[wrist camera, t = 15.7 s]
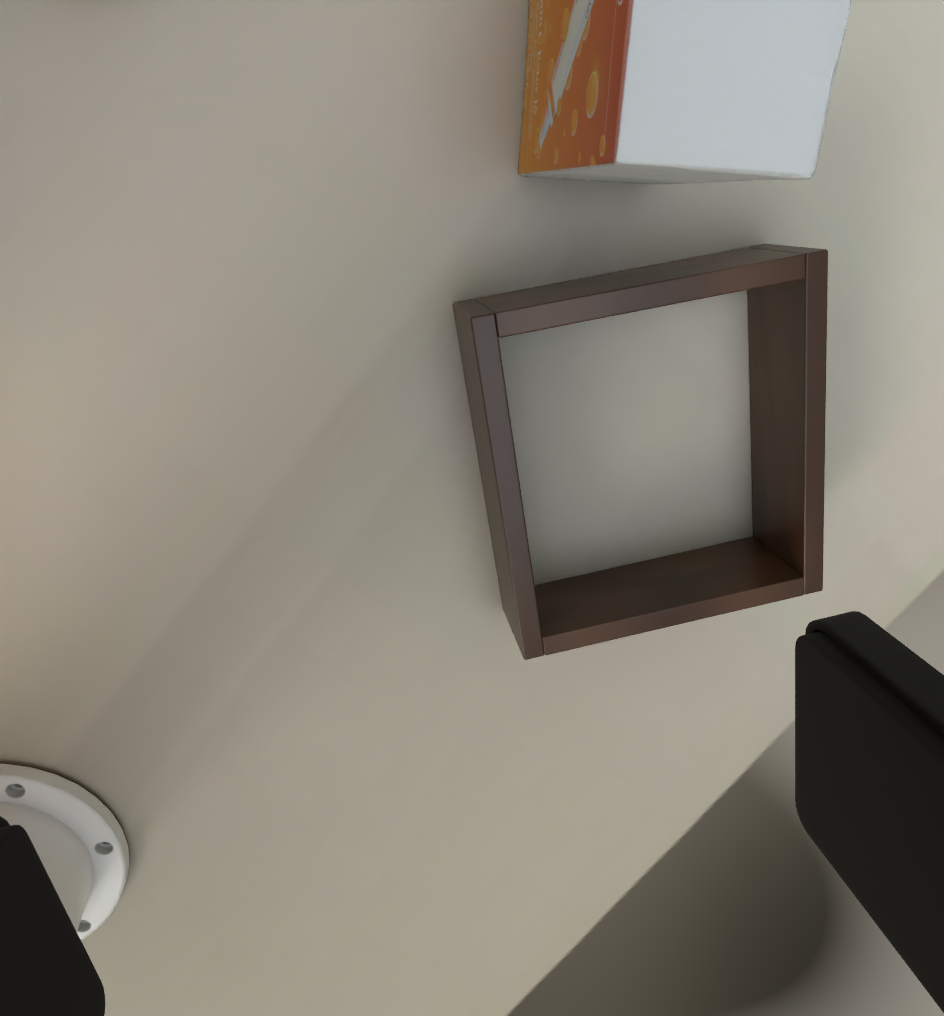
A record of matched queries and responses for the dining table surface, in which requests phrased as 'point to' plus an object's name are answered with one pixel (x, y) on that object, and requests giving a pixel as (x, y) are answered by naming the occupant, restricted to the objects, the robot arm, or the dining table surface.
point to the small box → (678, 89)
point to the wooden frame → (774, 448)
